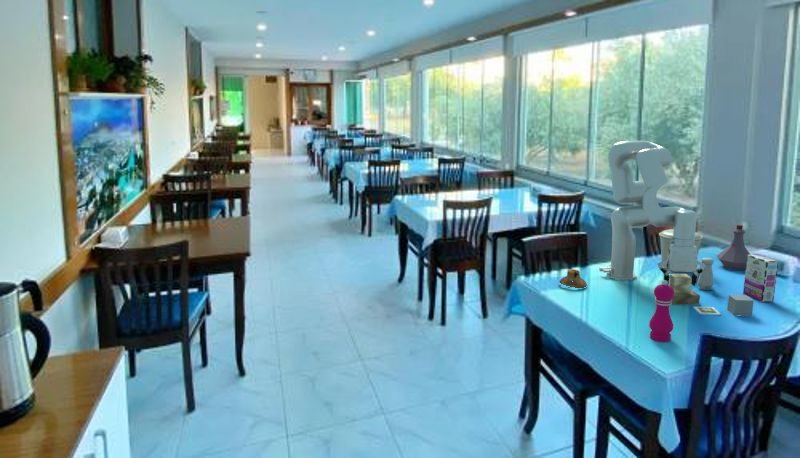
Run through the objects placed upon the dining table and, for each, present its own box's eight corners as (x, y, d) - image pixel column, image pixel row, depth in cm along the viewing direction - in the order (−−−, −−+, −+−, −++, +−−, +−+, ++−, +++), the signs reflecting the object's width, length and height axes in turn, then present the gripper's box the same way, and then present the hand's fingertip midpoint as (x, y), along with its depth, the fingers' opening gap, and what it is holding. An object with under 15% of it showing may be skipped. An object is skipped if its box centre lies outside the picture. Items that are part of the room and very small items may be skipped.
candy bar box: (774, 302, 216) (779, 261, 212) (762, 302, 215) (767, 261, 212) (754, 292, 227) (758, 253, 223) (742, 293, 226) (746, 254, 223)
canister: (707, 274, 251) (712, 228, 247) (666, 275, 252) (670, 229, 247) (687, 263, 269) (691, 220, 265) (649, 264, 269) (653, 221, 265)
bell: (572, 280, 247) (573, 265, 246) (592, 288, 237) (593, 271, 235) (552, 285, 243) (552, 268, 241) (571, 292, 232) (572, 275, 230)
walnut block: (672, 305, 216) (673, 295, 215) (661, 296, 225) (662, 287, 225) (699, 305, 215) (699, 295, 214) (687, 296, 225) (687, 287, 224)
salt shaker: (714, 291, 230) (718, 260, 227) (699, 290, 231) (702, 259, 228) (710, 286, 235) (713, 256, 232) (695, 286, 236) (698, 256, 234)
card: (700, 314, 205) (700, 312, 205) (693, 307, 212) (693, 306, 212) (720, 314, 204) (720, 313, 204) (713, 308, 211) (713, 306, 210)
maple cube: (674, 293, 218) (675, 278, 216) (668, 288, 223) (670, 273, 222) (690, 293, 217) (691, 278, 215) (684, 288, 223) (686, 273, 221)
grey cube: (733, 315, 203) (735, 300, 202) (727, 309, 209) (728, 294, 208) (751, 316, 202) (753, 300, 201) (744, 310, 208) (746, 295, 207)
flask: (707, 263, 269) (711, 222, 265) (739, 261, 271) (743, 221, 267) (730, 273, 253) (735, 229, 249) (764, 271, 255) (769, 228, 251)
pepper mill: (650, 332, 190) (655, 275, 186) (674, 336, 186) (679, 279, 182) (646, 339, 184) (650, 281, 180) (670, 344, 180) (675, 284, 176)
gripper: (662, 244, 214) (659, 287, 217) (711, 244, 211) (707, 288, 215) (656, 239, 221) (653, 281, 224) (703, 240, 218) (699, 282, 222)
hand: (679, 284), depth 219 cm, fingers open, 9 cm apart
